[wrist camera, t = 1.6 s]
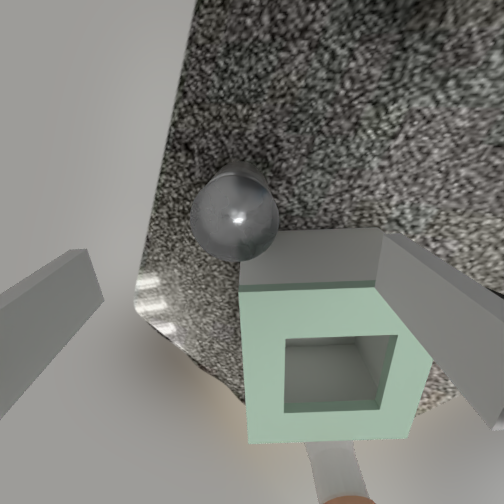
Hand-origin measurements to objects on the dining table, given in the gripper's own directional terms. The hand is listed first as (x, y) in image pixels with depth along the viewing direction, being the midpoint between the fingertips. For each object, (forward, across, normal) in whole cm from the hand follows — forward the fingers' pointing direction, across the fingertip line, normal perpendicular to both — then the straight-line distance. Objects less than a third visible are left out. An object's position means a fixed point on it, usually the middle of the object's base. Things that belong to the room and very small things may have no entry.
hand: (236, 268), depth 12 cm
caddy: (+18, +7, -14) cm, 24 cm away
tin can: (+19, 0, 0) cm, 19 cm away
